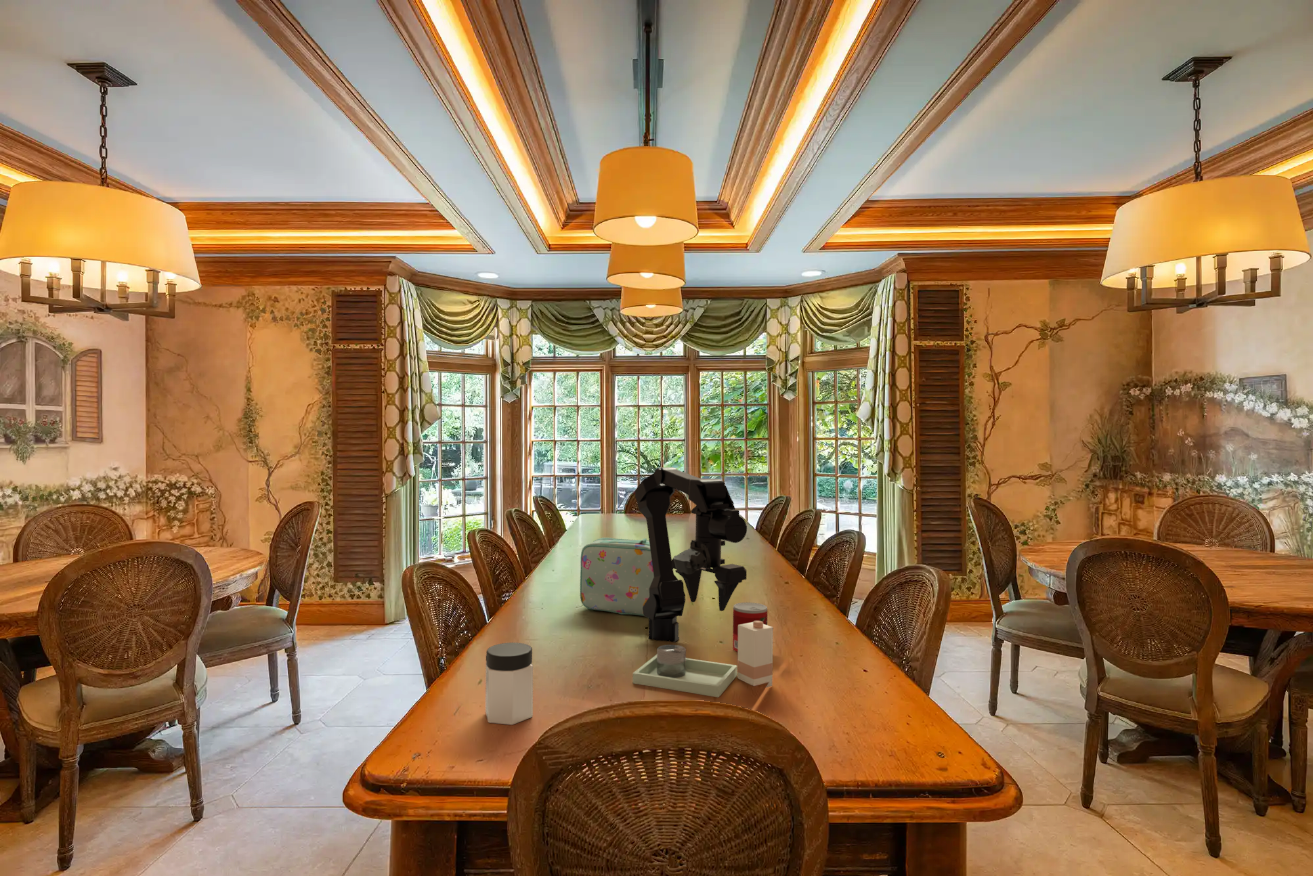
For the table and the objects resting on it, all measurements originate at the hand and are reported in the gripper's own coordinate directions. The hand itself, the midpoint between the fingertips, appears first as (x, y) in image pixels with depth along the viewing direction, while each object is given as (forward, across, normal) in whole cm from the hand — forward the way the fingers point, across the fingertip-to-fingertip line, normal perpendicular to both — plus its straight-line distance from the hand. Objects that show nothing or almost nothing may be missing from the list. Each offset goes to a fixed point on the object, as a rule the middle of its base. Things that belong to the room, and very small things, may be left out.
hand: (707, 606), depth 151 cm
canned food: (+13, 0, +14) cm, 19 cm away
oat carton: (+13, +15, 0) cm, 20 cm away
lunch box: (+14, -47, +13) cm, 51 cm away
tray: (+13, +6, -11) cm, 18 cm away
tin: (+12, +2, -12) cm, 17 cm away
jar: (+13, -2, -47) cm, 49 cm away
